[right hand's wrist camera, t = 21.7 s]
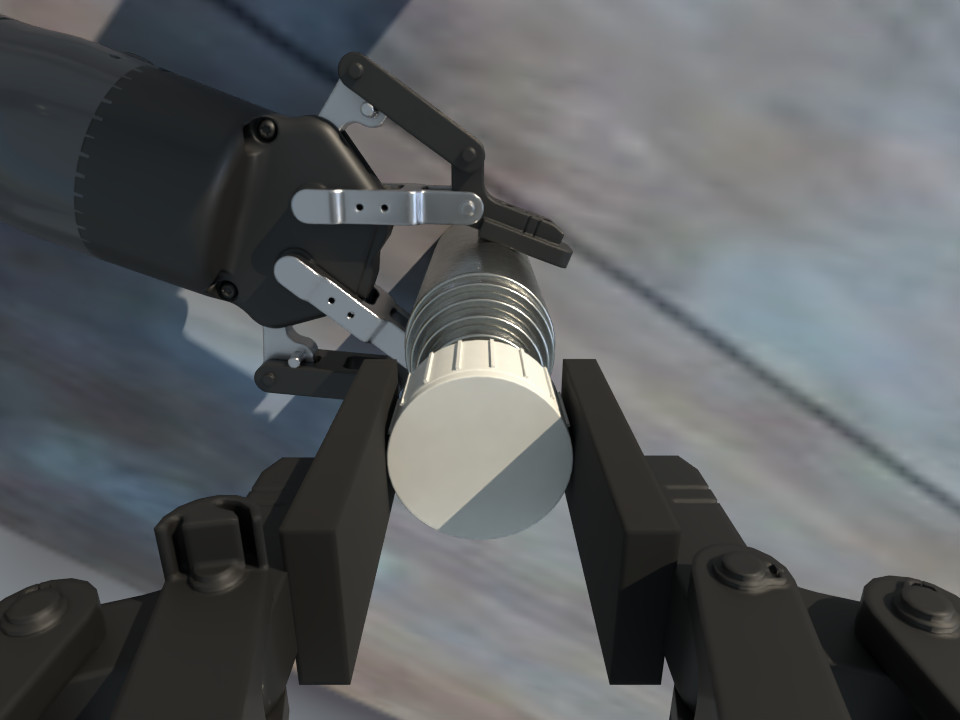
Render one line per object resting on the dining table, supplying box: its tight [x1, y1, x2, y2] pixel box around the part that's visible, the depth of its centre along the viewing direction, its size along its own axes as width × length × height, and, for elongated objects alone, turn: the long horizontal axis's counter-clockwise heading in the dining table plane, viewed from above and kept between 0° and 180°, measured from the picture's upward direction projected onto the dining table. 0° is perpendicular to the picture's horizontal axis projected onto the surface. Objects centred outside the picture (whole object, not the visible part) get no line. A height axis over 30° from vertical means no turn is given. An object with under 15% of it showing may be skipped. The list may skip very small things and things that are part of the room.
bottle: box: [405, 225, 555, 376], centre depth 22 cm, size 5×5×19 cm
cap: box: [386, 339, 573, 540], centre depth 14 cm, size 4×4×2 cm
